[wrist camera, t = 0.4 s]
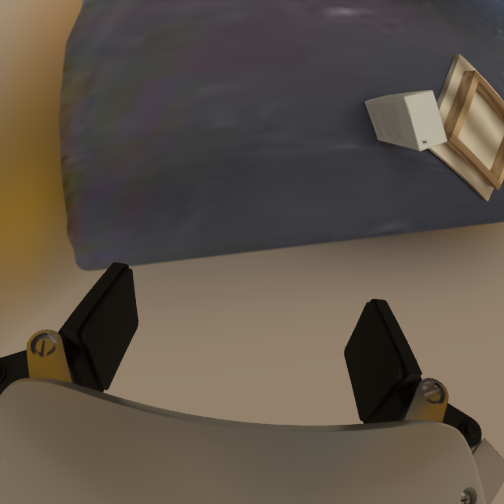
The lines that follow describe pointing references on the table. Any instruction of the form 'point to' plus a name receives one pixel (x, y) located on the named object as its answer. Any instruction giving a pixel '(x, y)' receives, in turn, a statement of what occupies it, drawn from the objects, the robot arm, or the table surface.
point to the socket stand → (472, 128)
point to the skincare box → (407, 119)
